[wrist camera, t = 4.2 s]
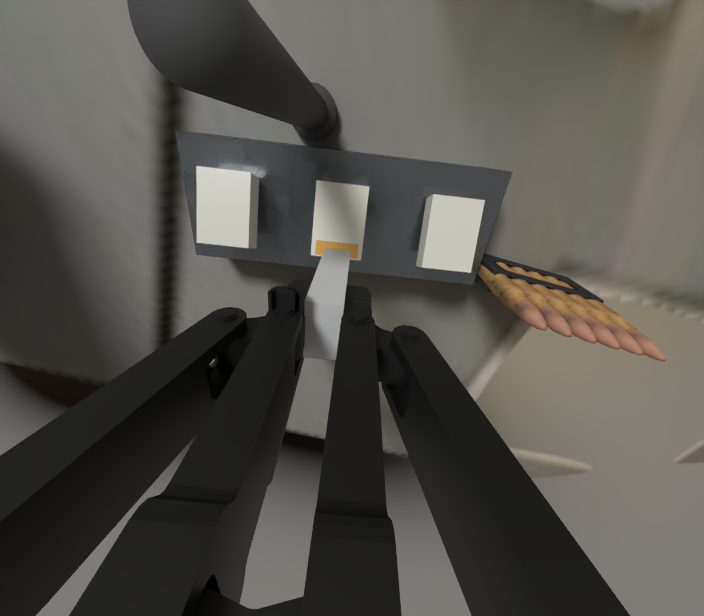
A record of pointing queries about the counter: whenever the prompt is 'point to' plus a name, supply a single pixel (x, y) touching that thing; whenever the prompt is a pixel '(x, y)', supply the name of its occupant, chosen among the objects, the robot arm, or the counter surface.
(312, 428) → the counter surface
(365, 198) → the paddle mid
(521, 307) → the ammunition clip
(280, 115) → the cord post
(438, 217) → the paddle right
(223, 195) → the paddle left
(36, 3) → the counter surface
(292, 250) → the breaker panel
